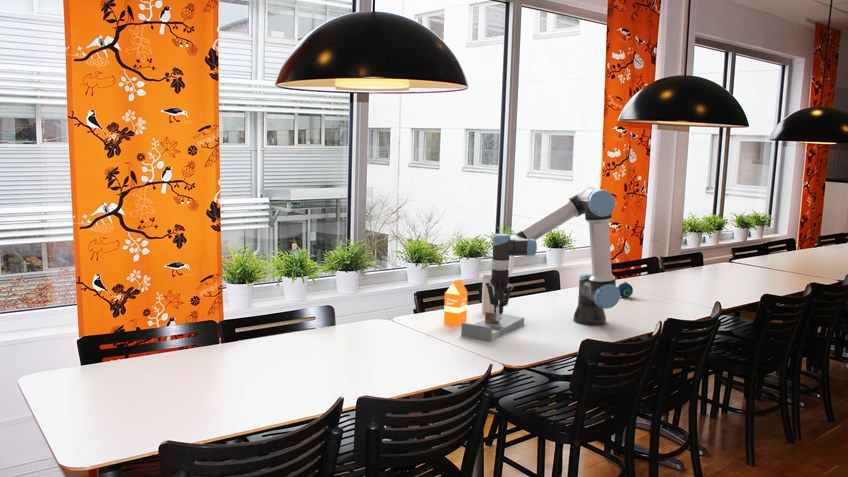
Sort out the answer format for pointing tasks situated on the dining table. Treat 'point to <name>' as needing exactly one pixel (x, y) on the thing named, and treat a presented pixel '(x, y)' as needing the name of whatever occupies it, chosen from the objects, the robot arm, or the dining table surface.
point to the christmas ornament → (625, 290)
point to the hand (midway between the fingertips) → (498, 320)
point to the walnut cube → (490, 317)
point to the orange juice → (455, 304)
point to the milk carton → (486, 295)
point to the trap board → (491, 328)
